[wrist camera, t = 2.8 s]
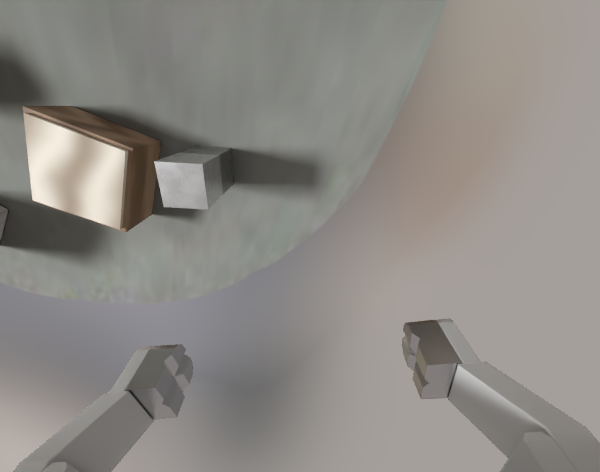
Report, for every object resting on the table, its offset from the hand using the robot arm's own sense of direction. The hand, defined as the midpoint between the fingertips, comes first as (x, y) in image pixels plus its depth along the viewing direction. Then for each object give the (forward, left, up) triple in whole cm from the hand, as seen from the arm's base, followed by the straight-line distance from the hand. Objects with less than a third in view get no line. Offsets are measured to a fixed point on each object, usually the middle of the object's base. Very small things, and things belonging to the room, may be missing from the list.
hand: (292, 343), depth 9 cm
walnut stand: (+28, -2, -31) cm, 41 cm away
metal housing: (+13, -1, -31) cm, 33 cm away
